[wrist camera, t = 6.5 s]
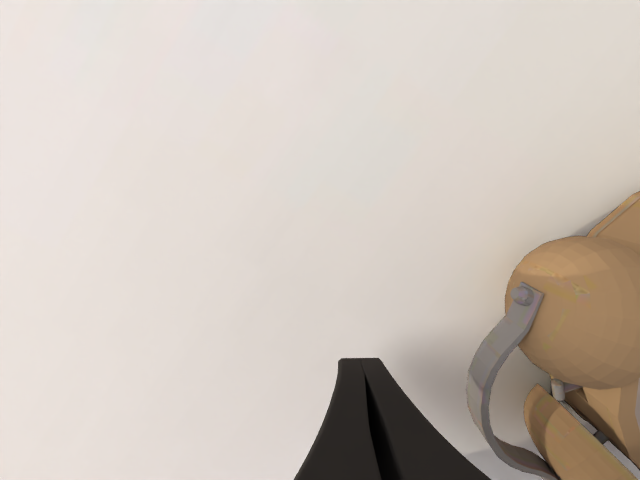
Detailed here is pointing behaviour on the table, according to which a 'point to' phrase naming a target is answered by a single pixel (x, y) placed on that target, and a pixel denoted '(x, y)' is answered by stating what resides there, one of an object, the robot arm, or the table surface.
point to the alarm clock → (573, 351)
